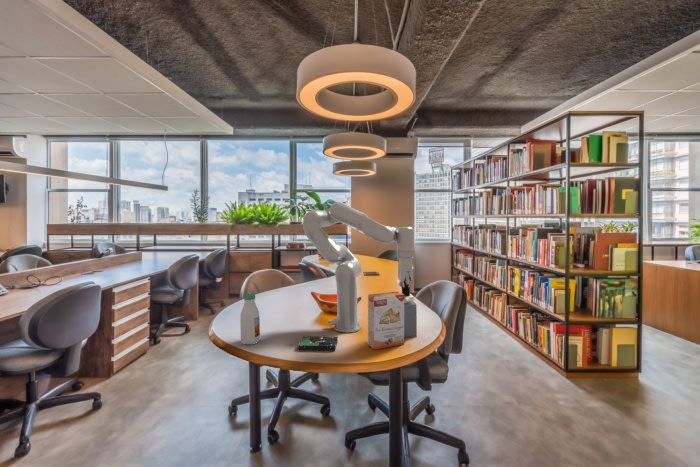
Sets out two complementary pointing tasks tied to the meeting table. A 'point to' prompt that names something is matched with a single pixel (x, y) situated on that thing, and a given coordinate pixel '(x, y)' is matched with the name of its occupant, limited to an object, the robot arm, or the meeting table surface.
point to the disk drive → (317, 343)
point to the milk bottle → (249, 321)
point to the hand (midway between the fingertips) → (405, 295)
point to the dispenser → (410, 319)
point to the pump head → (408, 298)
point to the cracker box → (385, 320)
